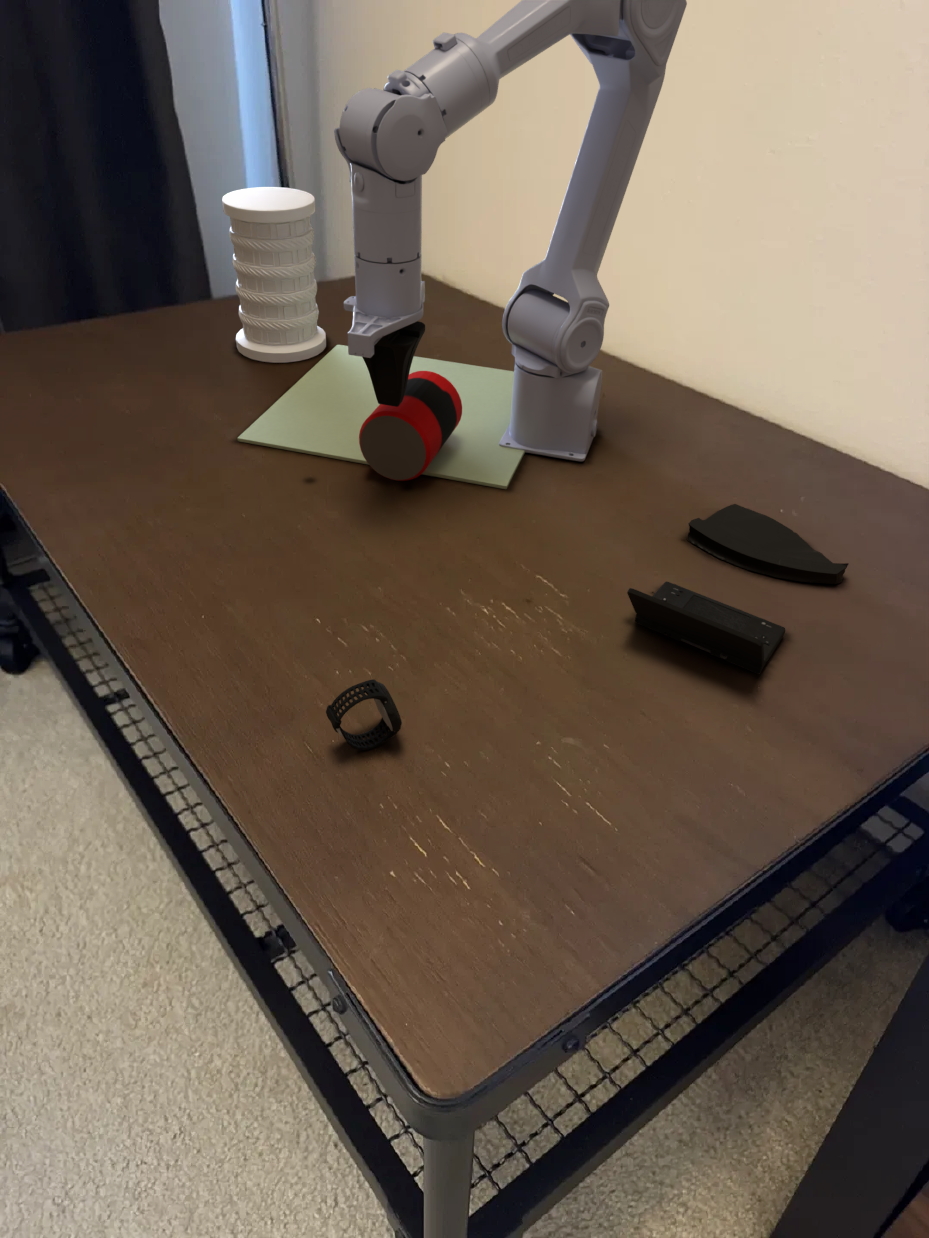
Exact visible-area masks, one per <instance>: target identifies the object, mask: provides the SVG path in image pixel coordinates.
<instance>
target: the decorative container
mask: <svg viewBox="0 0 929 1238" xmlns="http://www.w3.org/2000/svg"><path fill="white" fill-rule="evenodd" d="M221 203H222V211H223V213H224V215H226V216H228V217H229V221H230V227H229V232H228V236H229V237H228V238H230V243H231V244H232V246H233V255H232V262H231V263H232V266H233V269H234V271H235V272H236V280H235V292H236V295H237V297H238V298H239V303H240V304H239V306H238V317H239V320H240V322H241V323H242V328H241V329H240V330H239V331H238V332H237V333H236V335H235V343H236V348H237V351H238V352H239V353H240V354H241V355H243V356H244V357H246V358H248V359H251V360H254V361H259V362H263V363H264V362H265V363H272V364H273V363H274V364H275V363H276V364H277V363H279V364H280V363H281V364H282V363H293V362H301V361H305V360H308V359H311V358H314V357H316V356H319V354H321V353H323V352H324V351H325V349H326V348H327V336H326V335H327V334H326V331H325V330H324V329H323V328H321V326H318V320H319V315H320V311H319V307H318V306H319V305H318V304H317V301H316V295H317V292H318V283H317V280H316V278H315V271H314V270H315V269H316V262H317V259H316V256H315V253H314V252H313V242H314V238H315V232H314V229H313V225H312V224H311V216H313V215H314V213H316V199H315V196H314V195H313V194H312V193H310V192H308V191H305V190H301V189H298V188H292V187H291V188H290V187H281V186H258V187H256V186H255V187H254V186H253V187H248V188H247V187H246V188H241V189H236V190H233V191H230V192H227V193H226V194H224V195H223V196H222V198H221Z"/></svg>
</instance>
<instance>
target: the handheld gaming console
mask: <svg viewBox="0 0 929 1238" xmlns="http://www.w3.org/2000/svg"><path fill="white" fill-rule="evenodd" d="M626 594H627V596H628V598H629V600H630V603H631V605H632V608H633V610H634V612H635V618H634V622H635V624H638V625H641V626H642V627H644V628H647V629H649V630H653V631H654V632H657V633H660V634H662V635H664V636H666V637H669V638H671V639H673V640H676V641H678V642H683V643H686V644H688V645H690V646H692V647H695V648H696V649H697V648H698V649H700V650H702V651H705V652H707V653H709V655H711V656H713V657H717V658H718V659H721V660H724V661H725V662H728V663H731V664H734V665H736V666H738V667H741V668H743V669H745V670H747V671H750V672H752V673H754V674H757V675H760V674H761V673H762V671H763V669H764V667H765V665H766V664H767V663H768V661H769V659H771V656H772V655H773V653H774V651H775V650H776V648H777V647H778V646H779V644H780V642H781V641H782V639H783V638H784V635H785V632H786V627H785V626H782V625H779V624H778V623H775V622H772V621H769V620H767V619H764V618H761V617H760V616H757V615H754V614H752V613H749V612H747V611H743V610H742V609H739V608H737V607H735V606H731V605H729V604H727V603H723V602H721V601H718V600H716V599H714V598H711V597H708V596H706V595H703V594H701V593H698V592H696V591H693V590H692V589H691V590H690V589H689V588H686V587H683V586H680V585H679V584H678V585H677V584H675V583H673V582H670V581H664V583H663V584H662V585H661V586H660V587H659V588H658V589H657V590H656V592H654V594H653V595H650V594H647V593H645V592H643V591H641V590H637V589H635V588H631V587H629V588H628V589H627V592H626Z"/></svg>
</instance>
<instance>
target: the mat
mask: <svg viewBox="0 0 929 1238" xmlns="http://www.w3.org/2000/svg"><path fill="white" fill-rule="evenodd" d="M417 371H431V372H434V373H437V374H440V375H441V376H443V377H445V378H446V379H447V380H448V381H450V382H451V383H452V385H453V386H454V387H455V388H456V390H457V392H458V394H459V396H460V399H461V402H462V416H461V420H460V422H459V424H458V426H457V427H456V428H455V430H454V431H453V432H452V434H451V435H450V437H449V438H448V439H447V441H446V442H445V443H444V445H443V446H442V448H441V449H440V450H439V452H438V453H437V454H436V456H435V457H434V459H433V460H432V461H431V463H430V464H429V465H428V467H427V468H426V469H425V471H424V472H423V473H422V474H421V475H424V476H429V477H435V478H441V479H447V480H450V481H458V482H462V483H469V484H475V485H479V486H485V487H490V488H496V489H500V490H501V489H502V490H507V489H508V488H509V486H510V484H511V481H512V480H513V477H514V475H515V474H516V471H517V469H518V467H519V465H520V463H521V461H522V459H523V457H524V455H525V454H526V452H525V451H524V450H518V449H512V448H506V447H501V446H499V442H500V440H501V439H502V437H503V435H504V433H505V432H506V430H507V428H508V426H509V425H510V420H511V406H512V393H513V380H514V370H508V369H507V370H506V369H501V368H495V367H494V368H493V367H488V366H481V365H474V364H468V363H463V362H462V363H461V362H454V361H448V360H441V359H436V358H429V357H423V356H422V357H421V356H415V355H414V357H413V360H412V364H411V368H410V372H409V374H411V373H413V372H417ZM379 405H380V404H378V401H377V398H376V395H375V392H374V388H373V384H372V381H371V378H370V374H369V371H368V368H367V366H366V364H365V362H364V360H363V357H360V356H354V355H349V354H348V345H343V344H336V345H335V346H334V347H333V348H332V349H331V350H330V351H329V352H327V354H326V355H324V356H323V357H322V358H321V359H320V360H319V361H318V362H317V363H316V364H315V365H314V366H313V367H311V369H309V370H308V371H307V372H306V373H305V374H304V375H302V377H301V378H300V379H299V380H297V382H296V383H294V384H293V385H292V386H291V387H290V388H289V389H288V390H287V391H286V392H285V393H284V394H283V395H282V396H281V397H279V398H278V399H277V400H276V401H275V402H274V403H273V404H272V405H271V406H270V407H269V408H268V409H267V410H266V411H264V412H263V413H262V414H261V415H260V416H259V417H258V418H257V419H256V420H255V421H254V422H253V423H251V425H250V426H248V427H247V428H246V429H245V430H244V431H243V432H242V433H241V434H240V435H239V436H238V437H237V438H236V439H237V442H240V443H246V444H252V445H257V446H263V447H268V448H269V447H270V448H274V449H279V450H285V451H290V452H296V453H303V454H307V455H314V456H319V457H322V458H323V457H324V458H329V459H335V460H341V461H347V462H351V463H357V464H364V465H369V464H368V463H367V461H366V460H365V458H364V456H363V454H362V452H361V449H360V444H359V434H360V429H361V427H362V424H363V423H364V422H365V420H366V419H367V418H368V417H369V416H370V415H371V414H372V412H373V411H374V410H375V409H376V408H377V407H378V406H379ZM507 445H509V444H507ZM369 466H370V465H369Z"/></svg>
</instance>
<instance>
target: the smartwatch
mask: <svg viewBox="0 0 929 1238" xmlns="http://www.w3.org/2000/svg"><path fill="white" fill-rule="evenodd" d="M357 689H358V691H357ZM352 692H353V693H352ZM360 695H361V696H360ZM367 700H373V701H374V703H375V705H376V708H377V710H378V712H379V714H380V716H381V719H380V720H379V722H378V723H377V725H375V726H374V727H373V728H371V729H370V730H367V731H365V732H363V733H359V734H356V733H355V734H354V733H350V732H348V731H346V730H344V729H343V728H342V726H341V725H342V718H343V717H344V716H345V714H347V712H348V711H350V710H351V709H352V708H353V707H355V706H356V705H357V704H359V703H362V702H364V701H367ZM347 704H348V705H347ZM343 707H344V708H343ZM325 714H326V717H327V719H328V720H329V721H330V723H331V726H332V728H333V730H334V732H335V733H337V734H339V736H340V737H341V738H343V739H344V740H345V741H346V743H347V744H348V745H349V746H350V747H351V748H353V749H356V750H358V751H369V750H372V749H374V748H376V747H378V746H380V745H382V744H383V743H386V742H387V741H389V740H390V739H391V738H393V737H395V736H396V735H397V734H398V733H399V732H400V730H401V728H402V724H403V722H402V718H401V715H400V712H399V710H398V707H397V706H396V703H395V701H394V699H393V697H392V695H391V694H390V692H389V690H388V688H387V687H386V686H385V685H384V683H382V682H379V681H377V680H376V679H374V678H373V679H368V680H364V681H362V682H360V683H357V684H354V685H351V686H350V687H348V688H346V689H345V690H343V691H342V692H341V693H339V694H338V696H336V698H335V699H333V701H332V703H331V704H328V705H327V707H326V710H325ZM373 734H374V735H373ZM368 736H369V738H368ZM380 737H382V738H380Z"/></svg>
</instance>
